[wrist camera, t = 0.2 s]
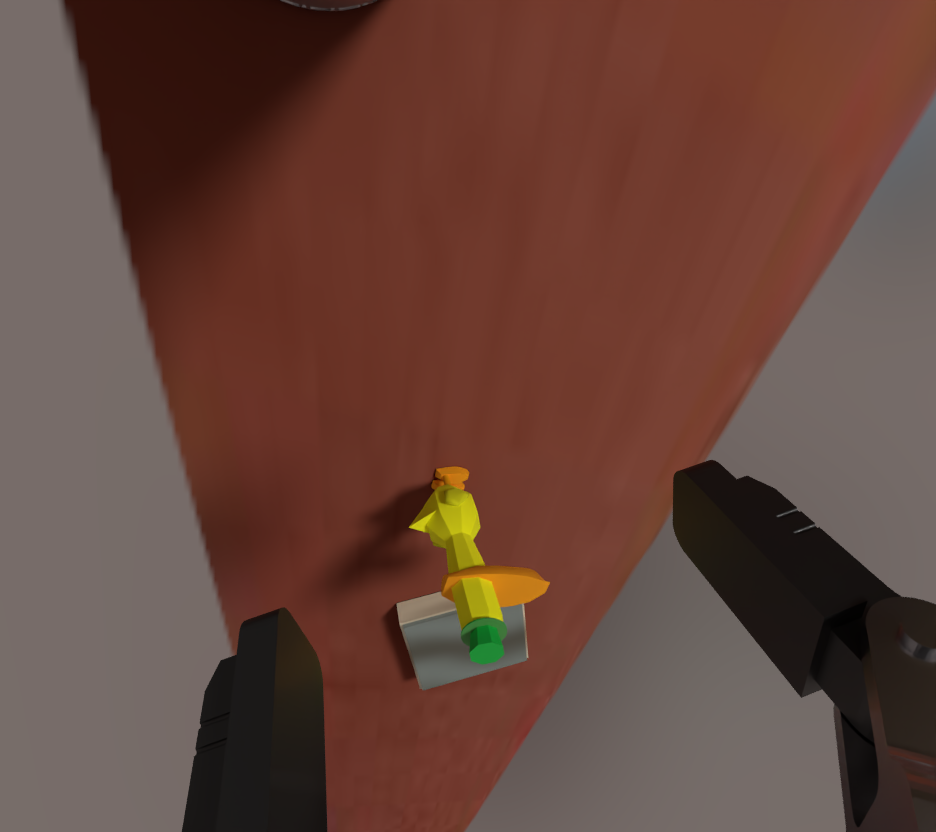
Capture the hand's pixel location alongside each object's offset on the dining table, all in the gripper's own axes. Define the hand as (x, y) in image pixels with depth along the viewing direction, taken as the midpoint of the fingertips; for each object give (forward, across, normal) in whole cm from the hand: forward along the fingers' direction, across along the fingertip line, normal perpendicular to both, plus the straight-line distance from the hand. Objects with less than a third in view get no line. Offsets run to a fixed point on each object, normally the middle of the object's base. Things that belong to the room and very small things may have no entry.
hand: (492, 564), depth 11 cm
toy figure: (+19, 0, +13) cm, 23 cm away
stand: (+19, +2, +28) cm, 34 cm away
